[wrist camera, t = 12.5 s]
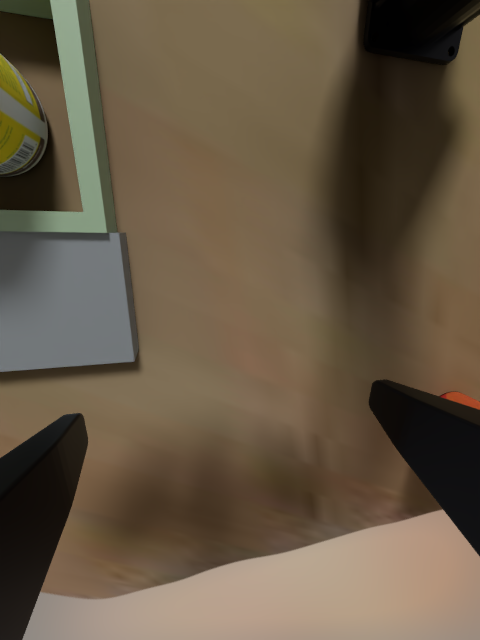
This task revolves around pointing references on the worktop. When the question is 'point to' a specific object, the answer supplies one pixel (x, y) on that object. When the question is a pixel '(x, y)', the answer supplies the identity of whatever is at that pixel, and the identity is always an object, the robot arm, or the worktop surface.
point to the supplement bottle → (19, 123)
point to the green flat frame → (68, 234)
